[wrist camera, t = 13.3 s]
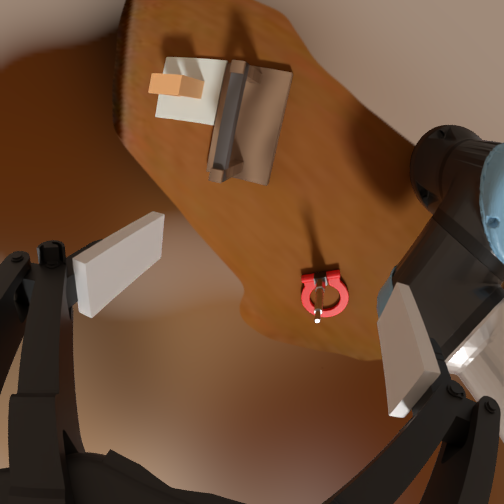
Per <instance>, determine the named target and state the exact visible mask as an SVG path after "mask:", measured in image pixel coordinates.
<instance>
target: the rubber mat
mask: <svg viewBox="0 0 504 504" xmlns="http://www.w3.org/2000/svg"><path fill="white" fill-rule="evenodd" d="M227 63H228V61H226V60H215V59H202V58H184V57H166V62H165V66H164V71H163V74H178V75H185V76H188V77H191V78H195V79H198V80H201V81H204V87H203V92H202V97H201V99H197V98H190V97H184V96H180V97H179V96H170V95H162V94H159V97H158V103H157V109H156V115H155V117H160V118H168V119H176V120H183V121H190V122H197V123H203V124H209V125H215V120H216V115H217V110H218V105H219V100H220V95H221V90H222V85H223V81H224V76H225V72H226V67H227Z"/></svg>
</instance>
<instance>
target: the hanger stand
mask: <svg viewBox="0 0 504 504" xmlns="http://www.w3.org/2000/svg"><path fill="white" fill-rule="evenodd" d="M292 77H293V74H292V73H291V72H286V71H281V70H275V69H269V68H263V67H257V66H251V65H249V64H248V63H247V62H245V61H240V60H232V62H231V63H227V67H226V72H225V76H224V81H223V85H222V90H221V95H220V100H219V105H218V110H217V115H216V120H215V125H214V131H213V136H212V142H211V147H210V153H209V159H208V164H207V170H206V171H208V172H210V174H209V181H213V182H217V183H222V182H224V181H225V180H227V179H229V178H231V177H234V178H238V179H242V180H246V181H250V182H254V183H258V184H262V185H266V186H267V185H268V184H269V179H270V175H271V170H272V166H273V161H274V157H275V153H276V148H277V144H278V139H279V135H280V130H281V126H282V122H283V117H284V113H285V108H286V104H287V99H288V95H289V90H290V86H291V82H292Z"/></svg>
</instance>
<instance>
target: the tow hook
mask: <svg viewBox="0 0 504 504" xmlns="http://www.w3.org/2000/svg"><path fill="white" fill-rule="evenodd" d="M301 280H302V283H304V287H303V290H302V294H301V300H302V304H303V306H304V307H305V309H306V310H307V311H308V312H310V313H311V314H313V315H315V322H316V323H319V322H320V317H331V316H334V315H337V314H339V313H340V312H342V311H343V310H344V308H345V307H346V306H347V303H348V299H349V294H348V289H347V287H346V286H345V284H344V283H343V282H342V281H341V280H340V270H333V271H323V272H316V273H313V274H306V275H302V276H301ZM328 282H329V285H330V286H332V287H334V288H336V289H337V290H338V292H339V294H340V300H339V302H338V303H337V304H336V305H335V306H334V307H331V308H327V309H323V293H324V291H325V286H326V285H328ZM313 289H315V292H316V298H315V305H314V304H313V303H312V302H311V299H310V294H311V292H312V290H313Z"/></svg>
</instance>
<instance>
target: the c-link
mask: <svg viewBox="0 0 504 504" xmlns="http://www.w3.org/2000/svg"><path fill="white" fill-rule="evenodd" d="M203 87H204V81H201V80H198V79H195V78H191V77H188V76H185V75H178V74H156V73H152V76H151V81H150V86H149V92H148V93H154V94H162V95H170V96H179V97H180V96H184V97H190V98H197V99H201V97H202V92H203Z"/></svg>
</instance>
